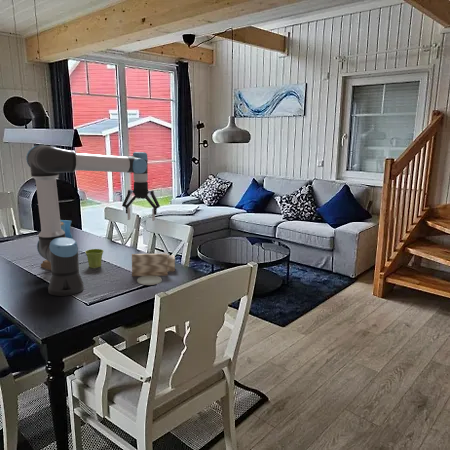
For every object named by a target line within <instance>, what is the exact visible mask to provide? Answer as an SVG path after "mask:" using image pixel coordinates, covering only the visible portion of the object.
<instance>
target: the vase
mask: <svg viewBox="0 0 450 450" xmlns="http://www.w3.org/2000/svg"><path fill="white" fill-rule="evenodd" d="M60 222H63V223H64V225H62V226H61V229H62V230H63V231H64V232H65V237H66V238H71V239H73V237H74V236H73V235H72V232H71V225H72V220H66V219H65V220H64V219H60Z"/></svg>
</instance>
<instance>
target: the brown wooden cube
mask: <svg viewBox="0 0 450 450" xmlns="http://www.w3.org/2000/svg"><path fill="white" fill-rule="evenodd" d="M175 264H176V258H175V255H174V254H171V255H170V254H168V266H167V272H176V270H175V269H176V268H175V266H176V265H175Z"/></svg>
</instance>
